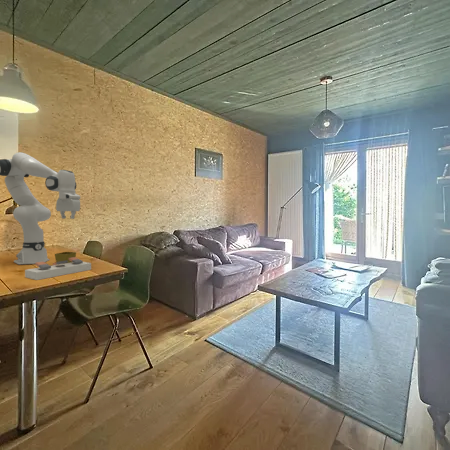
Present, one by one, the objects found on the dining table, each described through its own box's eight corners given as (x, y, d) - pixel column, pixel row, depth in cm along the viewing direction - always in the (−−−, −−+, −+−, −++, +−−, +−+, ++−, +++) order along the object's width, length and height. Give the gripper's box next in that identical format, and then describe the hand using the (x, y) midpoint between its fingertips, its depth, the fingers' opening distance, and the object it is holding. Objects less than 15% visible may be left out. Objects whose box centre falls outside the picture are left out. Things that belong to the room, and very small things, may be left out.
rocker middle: (52, 265, 151) (52, 263, 151) (60, 264, 155) (59, 262, 155) (60, 263, 147) (60, 261, 148) (67, 262, 151) (67, 260, 151)
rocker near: (35, 264, 144) (35, 262, 143) (43, 263, 147) (43, 261, 147) (42, 269, 140) (42, 267, 140) (50, 268, 143) (50, 266, 143)
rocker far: (68, 259, 159) (68, 257, 159) (75, 258, 163) (75, 257, 163) (76, 264, 155) (76, 262, 155) (82, 262, 159) (82, 261, 159)
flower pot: (66, 268, 165) (66, 254, 164) (54, 267, 166) (54, 253, 166) (76, 265, 173) (76, 252, 173) (65, 265, 175) (65, 251, 175)
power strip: (25, 277, 141) (24, 269, 141) (84, 266, 170) (84, 259, 170) (36, 280, 135) (36, 271, 135) (96, 268, 165) (96, 261, 164)
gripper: (52, 196, 165) (53, 218, 166) (71, 195, 155) (72, 219, 156) (63, 197, 171) (63, 218, 171) (82, 196, 160) (82, 218, 161)
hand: (67, 218), depth 163 cm, fingers open, 8 cm apart
